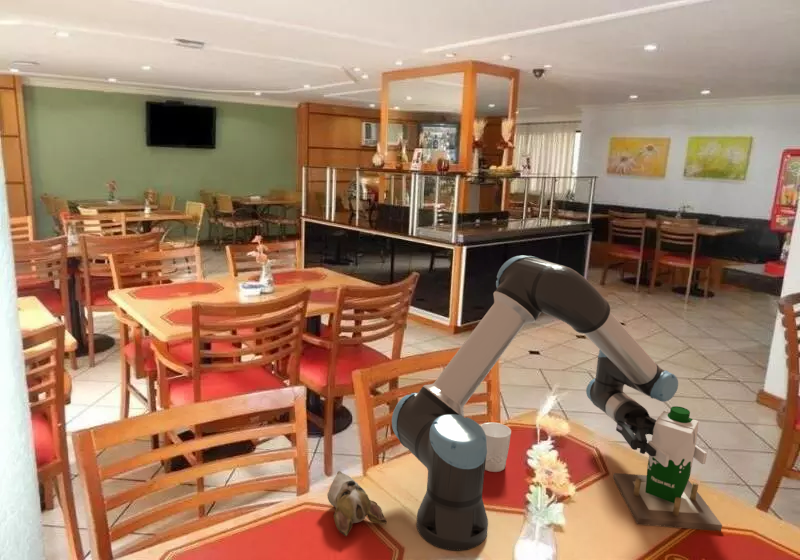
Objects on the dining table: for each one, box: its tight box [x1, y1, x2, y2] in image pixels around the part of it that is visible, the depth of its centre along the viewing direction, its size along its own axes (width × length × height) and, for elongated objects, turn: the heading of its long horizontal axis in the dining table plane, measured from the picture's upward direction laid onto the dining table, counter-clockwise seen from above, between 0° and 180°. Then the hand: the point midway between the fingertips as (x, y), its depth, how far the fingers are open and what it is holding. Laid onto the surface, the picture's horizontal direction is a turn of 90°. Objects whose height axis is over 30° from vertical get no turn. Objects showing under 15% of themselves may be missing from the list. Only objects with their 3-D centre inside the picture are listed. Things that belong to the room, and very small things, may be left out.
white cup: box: [480, 421, 512, 473], centre depth 146 cm, size 8×8×10 cm
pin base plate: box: [612, 472, 723, 532], centre depth 134 cm, size 18×18×6 cm
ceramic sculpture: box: [327, 470, 387, 537], centre depth 123 cm, size 11×9×15 cm
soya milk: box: [646, 405, 699, 503], centre depth 132 cm, size 9×9×20 cm
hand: (685, 459), depth 127 cm, fingers closed on soya milk, 9 cm apart
